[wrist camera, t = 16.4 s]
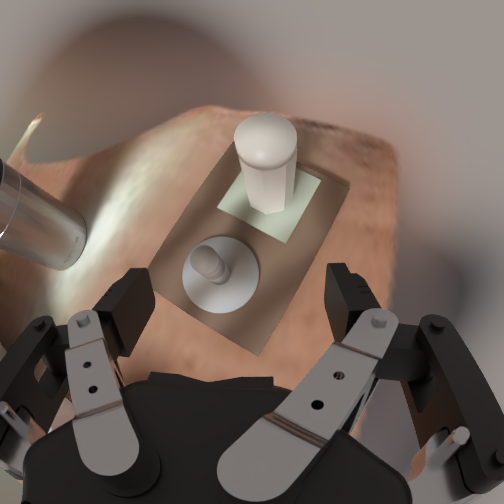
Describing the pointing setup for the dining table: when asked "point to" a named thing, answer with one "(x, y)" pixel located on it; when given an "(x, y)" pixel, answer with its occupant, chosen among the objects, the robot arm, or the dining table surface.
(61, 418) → the white tapered cup
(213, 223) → the post board
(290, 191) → the salt shaker
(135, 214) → the dining table surface
